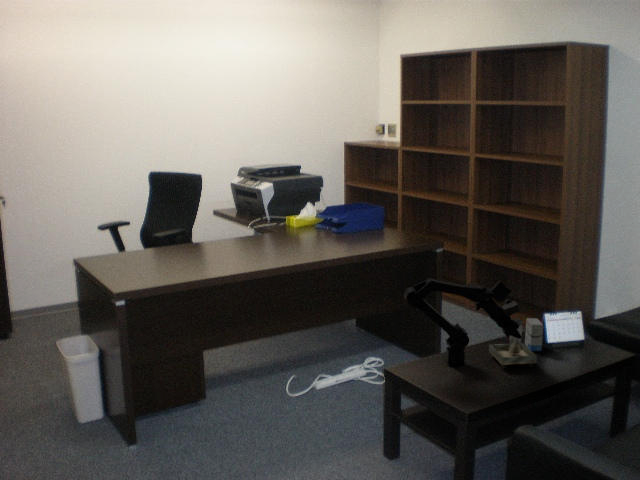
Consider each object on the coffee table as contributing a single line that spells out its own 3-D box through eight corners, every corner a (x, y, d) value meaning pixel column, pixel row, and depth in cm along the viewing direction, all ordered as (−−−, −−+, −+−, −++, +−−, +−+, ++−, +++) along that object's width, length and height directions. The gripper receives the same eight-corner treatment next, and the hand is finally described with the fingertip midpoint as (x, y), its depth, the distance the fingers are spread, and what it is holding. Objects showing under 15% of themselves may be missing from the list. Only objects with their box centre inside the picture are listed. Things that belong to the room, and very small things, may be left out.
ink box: (542, 351, 274) (543, 324, 271) (530, 351, 274) (531, 324, 272) (535, 343, 282) (537, 317, 280) (524, 343, 282) (525, 317, 280)
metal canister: (515, 354, 259) (517, 323, 256) (506, 350, 263) (508, 320, 260) (523, 352, 261) (525, 321, 259) (514, 348, 265) (516, 318, 262)
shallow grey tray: (501, 370, 256) (502, 357, 254) (488, 356, 269) (489, 344, 268) (535, 368, 257) (536, 356, 256) (521, 354, 271) (522, 343, 269)
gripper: (515, 303, 248) (542, 330, 251) (501, 288, 266) (526, 314, 269) (493, 322, 250) (520, 350, 252) (481, 307, 268) (506, 332, 270)
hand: (519, 335), depth 261 cm, fingers closed on metal canister, 4 cm apart
